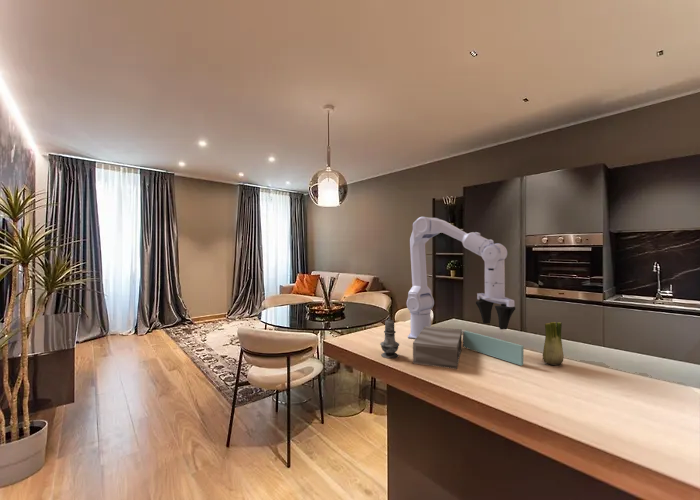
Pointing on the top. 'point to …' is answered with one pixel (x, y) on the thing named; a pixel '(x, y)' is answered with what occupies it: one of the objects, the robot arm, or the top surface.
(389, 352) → the salt shaker
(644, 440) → the top surface
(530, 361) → the top surface
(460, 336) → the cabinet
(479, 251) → the robot arm
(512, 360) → the door
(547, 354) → the fennel bulb
